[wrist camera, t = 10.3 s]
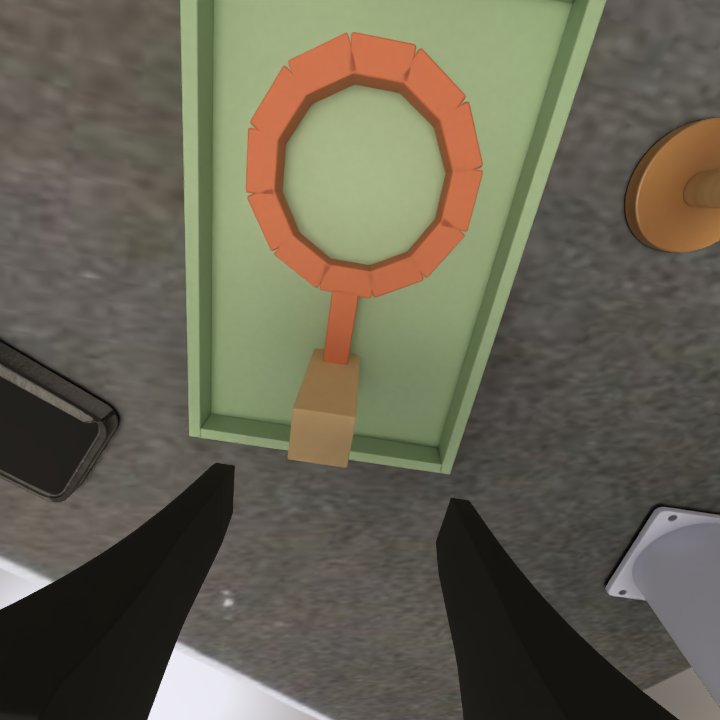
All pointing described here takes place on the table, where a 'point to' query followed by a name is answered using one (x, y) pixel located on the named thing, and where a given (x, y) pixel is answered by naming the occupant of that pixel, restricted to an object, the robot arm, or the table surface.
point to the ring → (346, 279)
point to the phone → (48, 428)
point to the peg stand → (678, 190)
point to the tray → (364, 210)
